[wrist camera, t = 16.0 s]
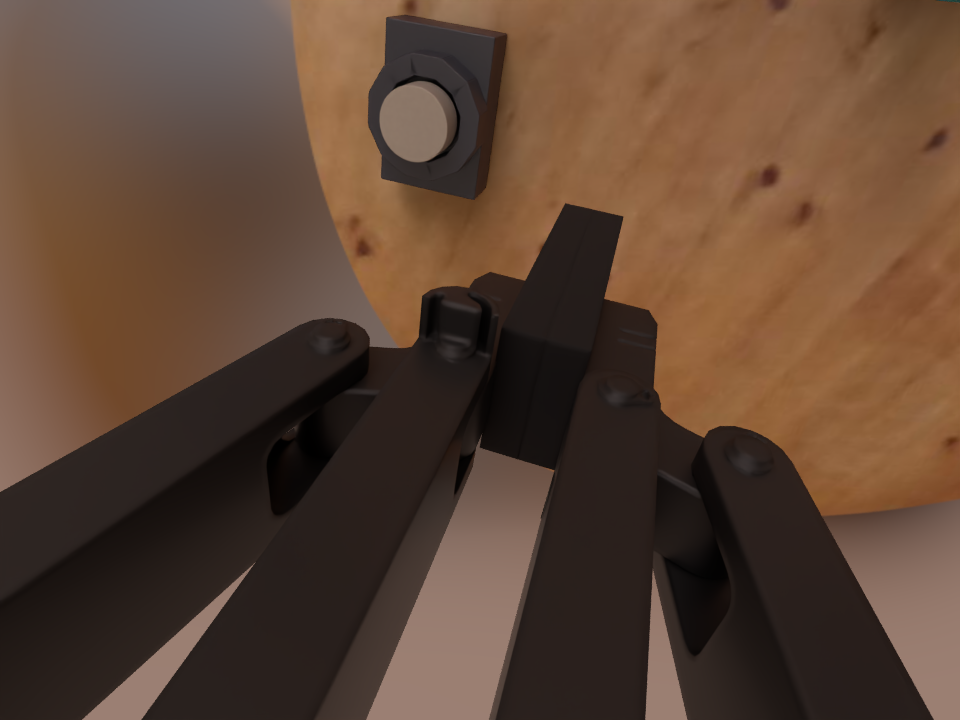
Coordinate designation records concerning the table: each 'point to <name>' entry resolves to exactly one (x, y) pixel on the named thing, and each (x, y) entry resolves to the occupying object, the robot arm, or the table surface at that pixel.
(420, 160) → the plunger
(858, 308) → the table surface
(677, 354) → the table surface
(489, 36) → the button base
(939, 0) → the beverage can
